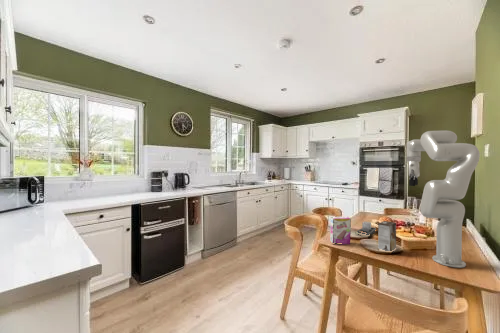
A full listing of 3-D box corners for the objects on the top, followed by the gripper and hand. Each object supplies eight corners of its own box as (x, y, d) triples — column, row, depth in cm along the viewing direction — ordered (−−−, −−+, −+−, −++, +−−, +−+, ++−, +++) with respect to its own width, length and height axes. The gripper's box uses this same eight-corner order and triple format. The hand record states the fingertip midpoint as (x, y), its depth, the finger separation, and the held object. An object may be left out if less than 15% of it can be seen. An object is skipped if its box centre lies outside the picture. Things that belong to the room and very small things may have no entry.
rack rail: (367, 237, 151) (367, 234, 151) (355, 234, 157) (355, 231, 157) (377, 230, 165) (377, 228, 165) (365, 228, 171) (365, 226, 171)
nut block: (368, 234, 158) (369, 223, 158) (362, 232, 161) (362, 222, 161) (371, 232, 161) (371, 222, 161) (364, 231, 164) (364, 221, 164)
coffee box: (384, 247, 134) (384, 220, 133) (396, 250, 129) (396, 222, 128) (377, 251, 128) (378, 223, 127) (390, 254, 123) (390, 225, 123)
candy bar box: (333, 245, 138) (333, 218, 137) (329, 242, 143) (330, 216, 142) (351, 244, 138) (351, 218, 138) (347, 241, 143) (347, 216, 143)
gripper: (418, 159, 140) (418, 186, 140) (422, 159, 152) (422, 184, 152) (404, 159, 145) (404, 185, 145) (409, 159, 157) (409, 184, 157)
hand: (413, 185), depth 149 cm, fingers open, 9 cm apart
